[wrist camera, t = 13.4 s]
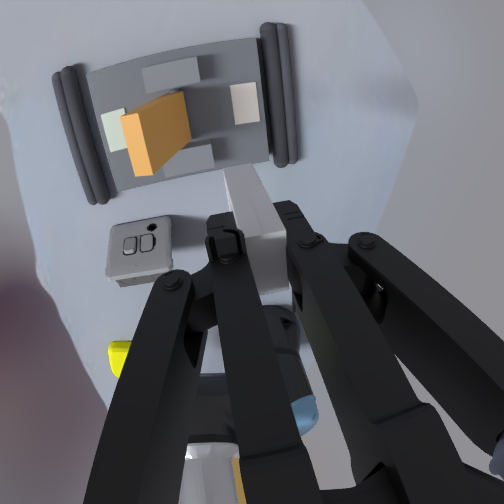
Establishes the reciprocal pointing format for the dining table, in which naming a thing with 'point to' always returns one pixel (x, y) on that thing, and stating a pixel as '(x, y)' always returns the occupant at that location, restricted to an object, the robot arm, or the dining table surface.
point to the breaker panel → (187, 107)
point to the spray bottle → (118, 355)
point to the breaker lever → (156, 132)
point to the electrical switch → (139, 251)
